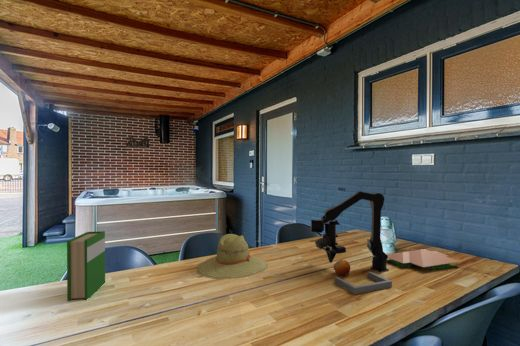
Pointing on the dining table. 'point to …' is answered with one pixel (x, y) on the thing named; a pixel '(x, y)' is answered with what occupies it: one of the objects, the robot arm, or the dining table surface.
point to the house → (422, 258)
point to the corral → (378, 285)
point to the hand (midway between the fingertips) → (330, 262)
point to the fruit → (342, 267)
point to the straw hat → (231, 260)
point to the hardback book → (85, 264)
